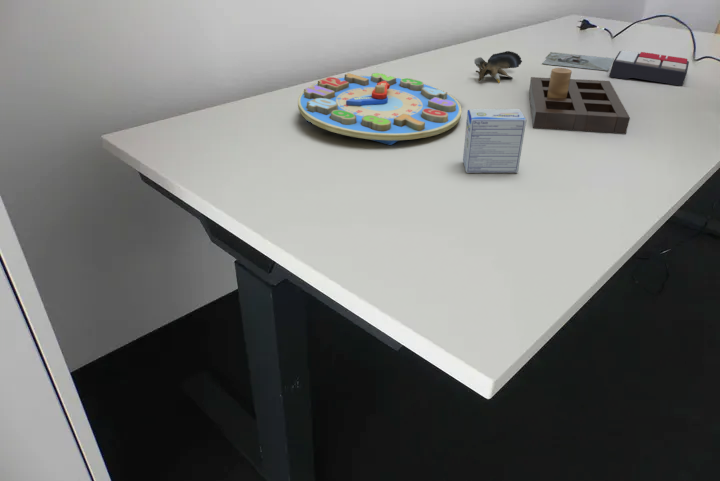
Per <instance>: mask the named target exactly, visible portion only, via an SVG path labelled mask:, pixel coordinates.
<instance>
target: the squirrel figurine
mask: <svg viewBox="0 0 720 481" xmlns="http://www.w3.org/2000/svg"><path fill="white" fill-rule="evenodd" d="M473 61H474V64H475V66H476V67H477V68H478V69H479V70H475V73H477V74H478V80H477V82H478V83H480V82H481V81H482V80H483V79H484V78H485V77H486V76H487V75H490V76H491V77H492V78H494V79H495V81H497V83H498V84H500V83H501V77H500V75H501V76H505V77H508V78H509V79H514V78H513V76H510V75H508V74H507V72H506V71H505V70H507V69H516V68H519V67H520V66H521V64H522V63H523V60H522V58H521V56H520V55H519V53H516V52H514V51H511V50H506V51H502V52H498V53H493V54H492V55H490V57H489V58H488V59H487V61H486V60H484V58H483V57H481V56H480V57H476V58H474V60H473Z"/></svg>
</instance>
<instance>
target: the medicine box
mask: <svg viewBox="0 0 720 481" xmlns="http://www.w3.org/2000/svg"><path fill="white" fill-rule="evenodd" d="M526 125H527V119H526V117H525V115H524V114H523V112H522V111H521V109H520V108H468V109H467V113H466V122H465V134H464V145H463V156H462V161H463V166H464V169H465V173H469V174H470V173H475V174H477V173H483V174H484V173H485V174H486V173H495V174H496V173H519V169H520V163H521V156H522V150H523V144H524V137H525V131H526V130H525V129H526Z"/></svg>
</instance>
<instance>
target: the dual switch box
mask: <svg viewBox="0 0 720 481" xmlns="http://www.w3.org/2000/svg"><path fill="white" fill-rule="evenodd" d="M689 63H690V61H689V60H688V58H685V57H678V56H671V55H665V54H657V53H651V52H645V51H641V52H640V53H639V52H638V51H632V50H626V49H622V50H620V51H619V52H618V53H617V55H616V56H615V57H614V60H613V62H612V64H611V67H610V72H609V74H608V75H609V78H616V79H620V80H621V79H622V80H628V79H637V80H644V81H650V82H655V83H660V84H661V83H662V84H666V85H673V86H679V87H681V86H683V84H684V82H685V79H686V76H687V74H688V70H689Z"/></svg>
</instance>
